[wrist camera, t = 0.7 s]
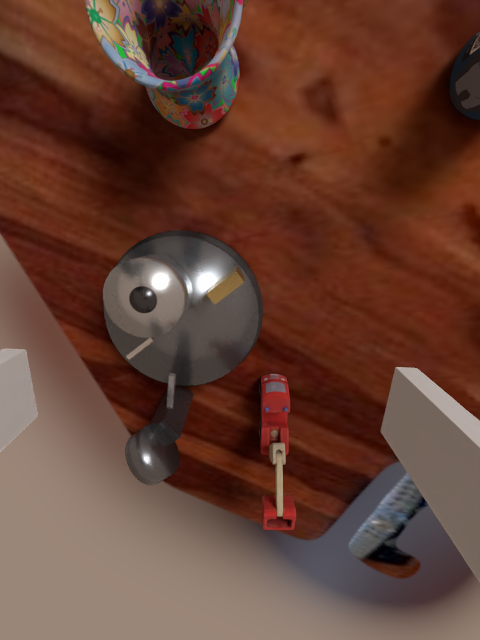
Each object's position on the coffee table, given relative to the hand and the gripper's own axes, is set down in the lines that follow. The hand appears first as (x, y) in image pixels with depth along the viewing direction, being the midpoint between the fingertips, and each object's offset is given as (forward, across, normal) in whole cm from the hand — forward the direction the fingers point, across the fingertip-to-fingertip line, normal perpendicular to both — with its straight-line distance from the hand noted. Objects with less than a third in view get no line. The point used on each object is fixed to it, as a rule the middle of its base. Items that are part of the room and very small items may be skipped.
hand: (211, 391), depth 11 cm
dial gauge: (+23, -5, -13) cm, 27 cm away
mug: (+24, -3, +19) cm, 30 cm away
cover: (+20, -7, -1) cm, 22 cm away
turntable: (+22, -5, -4) cm, 23 cm away
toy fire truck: (+23, +6, -18) cm, 30 cm away
